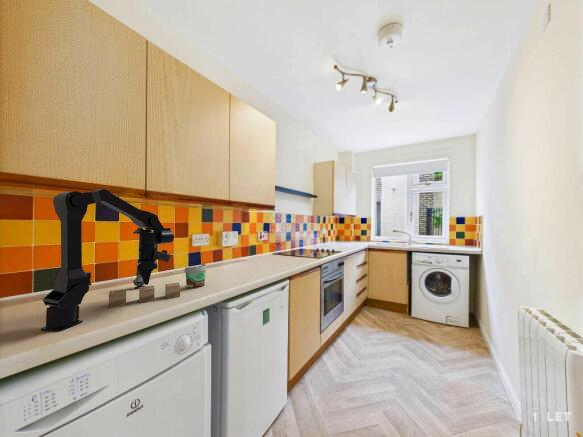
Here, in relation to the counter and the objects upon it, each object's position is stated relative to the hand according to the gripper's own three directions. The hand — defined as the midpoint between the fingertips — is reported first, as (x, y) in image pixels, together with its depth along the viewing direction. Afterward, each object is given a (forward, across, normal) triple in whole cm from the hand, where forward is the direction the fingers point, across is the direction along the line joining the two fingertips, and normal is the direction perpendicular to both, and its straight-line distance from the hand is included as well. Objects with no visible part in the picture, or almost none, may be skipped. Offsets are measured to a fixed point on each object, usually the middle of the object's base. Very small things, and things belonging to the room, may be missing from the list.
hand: (146, 284), depth 93 cm
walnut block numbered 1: (+6, 0, -9) cm, 11 cm away
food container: (+6, +10, -22) cm, 25 cm away
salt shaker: (+6, +24, +2) cm, 25 cm away
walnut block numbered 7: (+6, 0, +9) cm, 11 cm away
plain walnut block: (+6, 0, 0) cm, 6 cm away
